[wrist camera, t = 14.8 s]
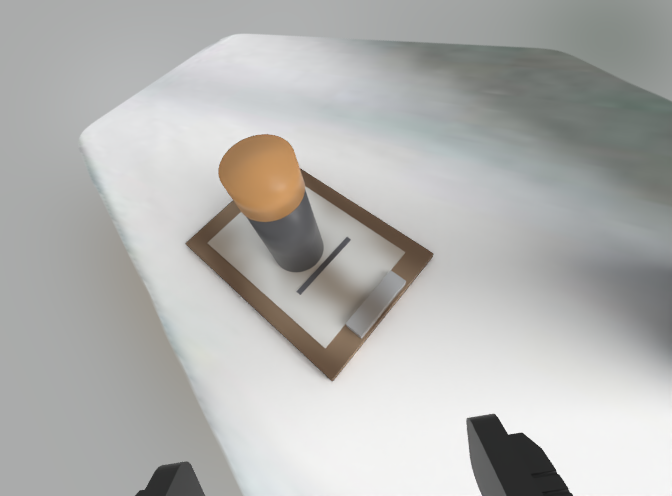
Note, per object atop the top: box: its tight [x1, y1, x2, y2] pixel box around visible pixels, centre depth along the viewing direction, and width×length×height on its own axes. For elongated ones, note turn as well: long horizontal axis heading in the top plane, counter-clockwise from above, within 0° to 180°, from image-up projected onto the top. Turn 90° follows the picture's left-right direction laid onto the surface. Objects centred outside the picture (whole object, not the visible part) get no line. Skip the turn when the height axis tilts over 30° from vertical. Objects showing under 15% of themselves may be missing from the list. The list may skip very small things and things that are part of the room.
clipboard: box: [185, 169, 433, 381], centre depth 32 cm, size 14×20×2 cm
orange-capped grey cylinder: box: [219, 134, 324, 272], centre depth 27 cm, size 5×5×12 cm
